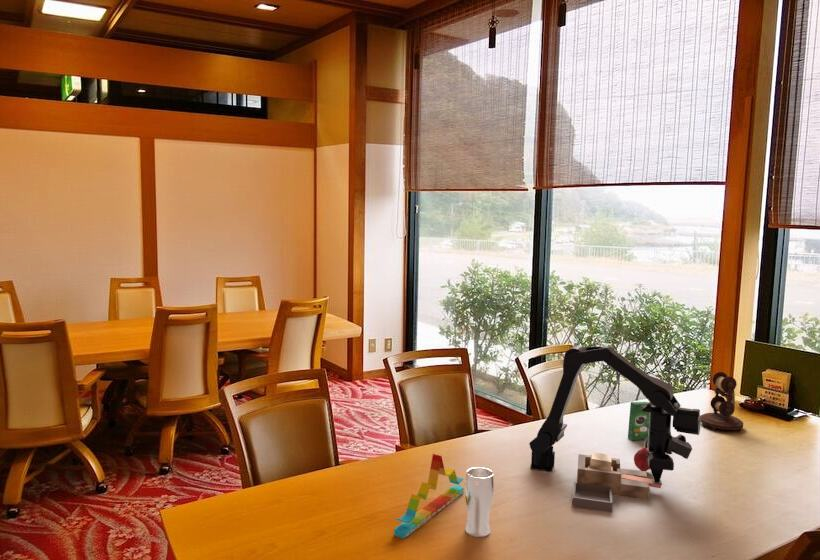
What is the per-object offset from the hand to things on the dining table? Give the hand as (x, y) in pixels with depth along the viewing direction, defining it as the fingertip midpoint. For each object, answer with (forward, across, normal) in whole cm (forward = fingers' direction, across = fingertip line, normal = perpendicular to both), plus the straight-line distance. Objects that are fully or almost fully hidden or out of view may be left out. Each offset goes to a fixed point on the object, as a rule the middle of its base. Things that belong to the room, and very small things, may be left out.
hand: (656, 482), depth 184 cm
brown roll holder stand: (+4, +68, -28) cm, 74 cm away
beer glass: (+3, -38, +44) cm, 58 cm away
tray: (+3, -12, +18) cm, 21 cm away
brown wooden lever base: (+3, 0, +12) cm, 13 cm away
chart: (+3, -32, +58) cm, 66 cm away
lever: (0, 0, +9) cm, 9 cm away
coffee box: (+3, +44, +2) cm, 45 cm away
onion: (+3, +14, +3) cm, 15 cm away
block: (-1, 0, +16) cm, 16 cm away
